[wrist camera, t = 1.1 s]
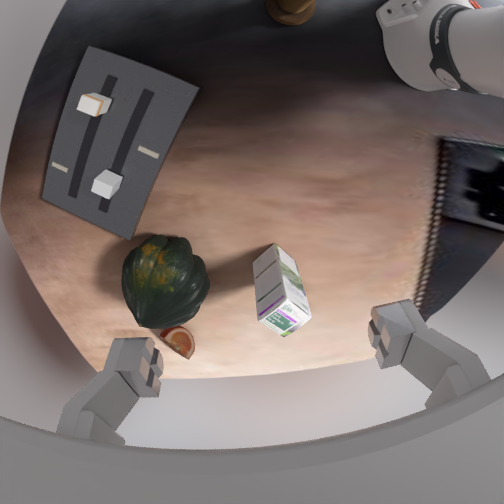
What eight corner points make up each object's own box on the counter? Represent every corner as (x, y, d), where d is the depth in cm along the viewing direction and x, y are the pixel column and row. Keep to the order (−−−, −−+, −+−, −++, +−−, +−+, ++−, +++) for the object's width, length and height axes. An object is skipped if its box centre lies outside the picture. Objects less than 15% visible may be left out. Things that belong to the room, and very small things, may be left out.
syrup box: (250, 262, 52) (255, 323, 40) (275, 241, 50) (287, 299, 38) (273, 279, 55) (282, 339, 43) (297, 259, 53) (313, 318, 40)
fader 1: (94, 92, 32) (81, 94, 28) (112, 99, 33) (100, 102, 29) (89, 105, 33) (76, 109, 29) (106, 112, 34) (94, 117, 30)
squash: (230, 250, 44) (146, 294, 34) (220, 317, 53) (155, 362, 43) (171, 212, 51) (96, 241, 40) (171, 277, 59) (109, 310, 49)
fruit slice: (201, 339, 63) (200, 356, 59) (178, 347, 65) (175, 364, 61) (179, 315, 59) (176, 333, 55) (155, 325, 61) (150, 342, 56)
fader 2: (105, 169, 38) (94, 178, 35) (122, 177, 39) (113, 187, 36) (102, 181, 39) (91, 191, 36) (118, 188, 40) (108, 199, 37)
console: (97, 46, 31) (87, 45, 28) (202, 87, 36) (199, 88, 33) (50, 191, 42) (41, 198, 40) (135, 231, 48) (129, 241, 45)
